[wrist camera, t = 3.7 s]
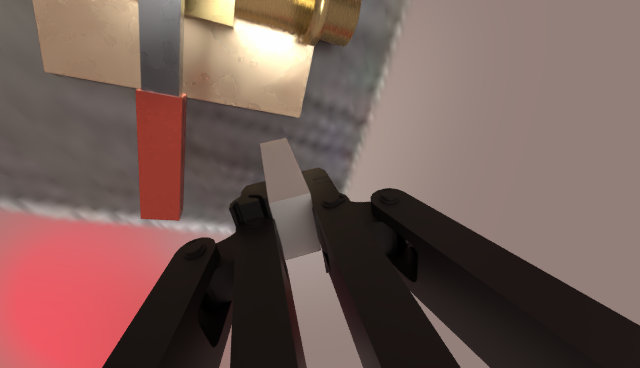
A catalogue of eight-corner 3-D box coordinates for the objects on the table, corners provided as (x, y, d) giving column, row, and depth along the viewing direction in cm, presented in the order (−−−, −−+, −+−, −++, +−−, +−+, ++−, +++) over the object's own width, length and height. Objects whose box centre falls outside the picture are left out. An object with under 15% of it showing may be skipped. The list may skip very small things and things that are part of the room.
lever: (125, -122, 12) (109, -142, 11) (204, -91, 13) (200, -106, 12) (139, 205, 19) (131, 219, 17) (190, 209, 20) (187, 221, 18)
